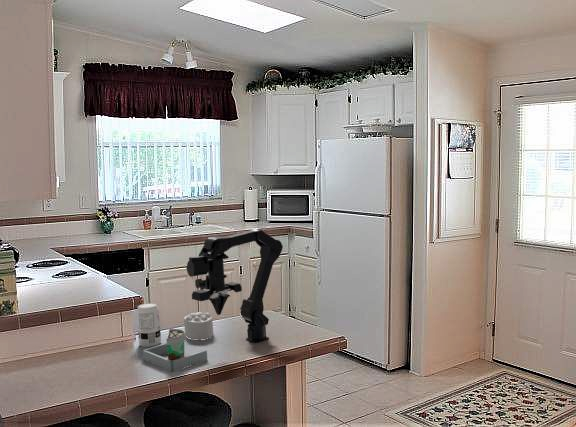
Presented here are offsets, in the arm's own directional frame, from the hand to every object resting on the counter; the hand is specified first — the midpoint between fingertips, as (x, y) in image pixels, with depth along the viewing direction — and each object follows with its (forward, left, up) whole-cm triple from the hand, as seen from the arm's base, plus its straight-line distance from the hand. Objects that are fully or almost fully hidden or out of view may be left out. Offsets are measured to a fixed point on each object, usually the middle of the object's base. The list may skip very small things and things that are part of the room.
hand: (218, 314), depth 216 cm
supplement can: (+13, -27, -13) cm, 33 cm away
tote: (+17, -4, -13) cm, 22 cm away
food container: (+17, -2, -13) cm, 21 cm away
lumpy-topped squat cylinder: (-5, -20, -13) cm, 25 cm away
